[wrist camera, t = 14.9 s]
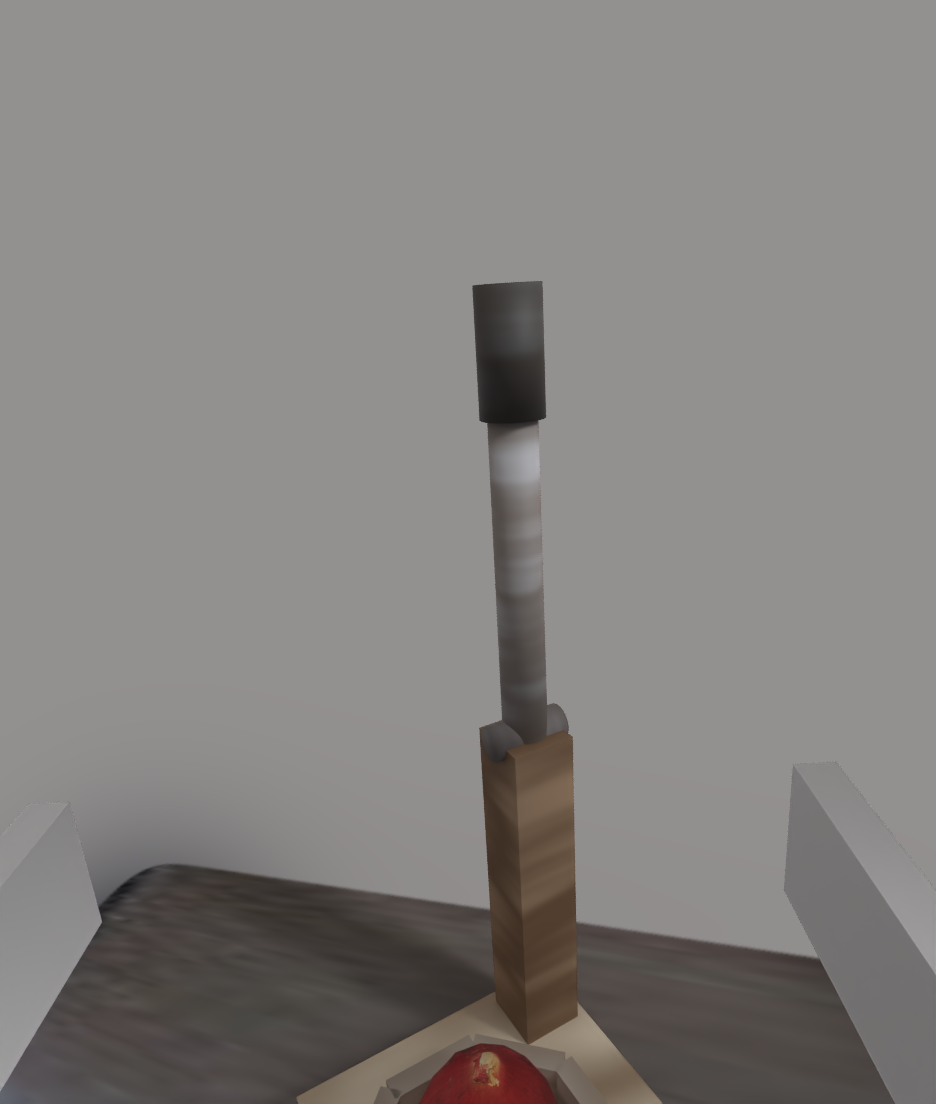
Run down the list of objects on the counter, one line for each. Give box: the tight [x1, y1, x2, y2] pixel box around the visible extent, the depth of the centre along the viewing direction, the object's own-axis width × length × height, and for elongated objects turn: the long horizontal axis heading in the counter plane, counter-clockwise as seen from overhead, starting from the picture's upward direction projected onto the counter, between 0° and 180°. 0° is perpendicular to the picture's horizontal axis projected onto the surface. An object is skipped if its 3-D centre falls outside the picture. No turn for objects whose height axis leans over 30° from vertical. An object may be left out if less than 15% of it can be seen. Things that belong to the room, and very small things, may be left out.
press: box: [296, 281, 663, 1104], centre depth 28 cm, size 14×14×37 cm
